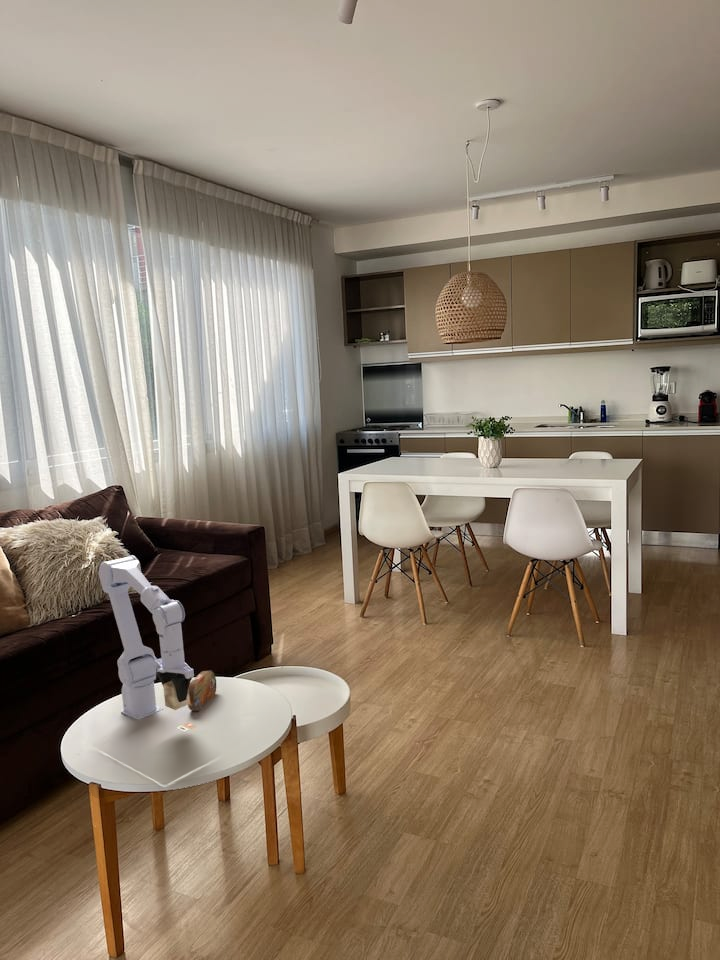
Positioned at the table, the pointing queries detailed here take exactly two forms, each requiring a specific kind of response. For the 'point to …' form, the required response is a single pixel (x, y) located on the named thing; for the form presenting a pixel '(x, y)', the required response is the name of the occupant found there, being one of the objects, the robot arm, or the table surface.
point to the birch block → (173, 697)
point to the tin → (201, 690)
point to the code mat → (185, 728)
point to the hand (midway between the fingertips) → (176, 698)
